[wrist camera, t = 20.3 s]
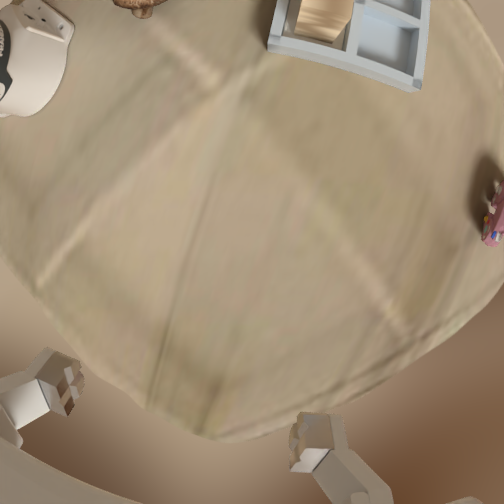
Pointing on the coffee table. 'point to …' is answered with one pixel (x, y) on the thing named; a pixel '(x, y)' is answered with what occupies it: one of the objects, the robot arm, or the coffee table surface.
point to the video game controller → (495, 219)
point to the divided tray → (364, 40)
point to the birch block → (323, 19)
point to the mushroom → (139, 6)
